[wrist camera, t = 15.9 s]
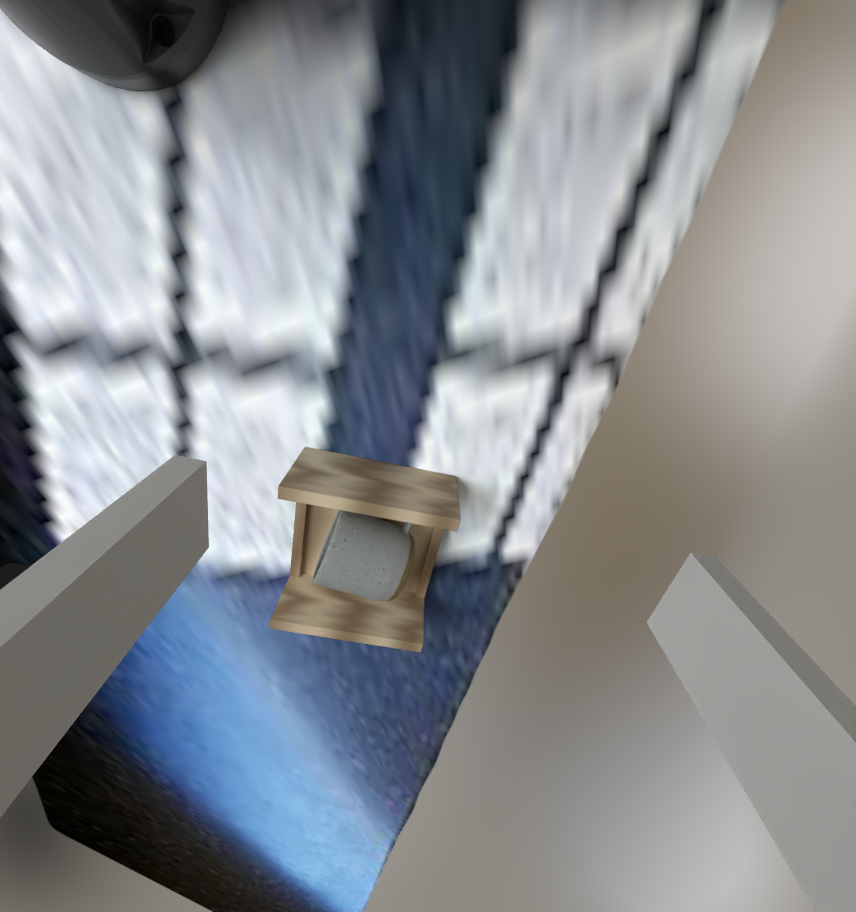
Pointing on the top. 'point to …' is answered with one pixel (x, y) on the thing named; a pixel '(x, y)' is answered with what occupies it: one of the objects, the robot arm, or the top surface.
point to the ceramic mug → (365, 557)
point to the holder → (370, 493)
